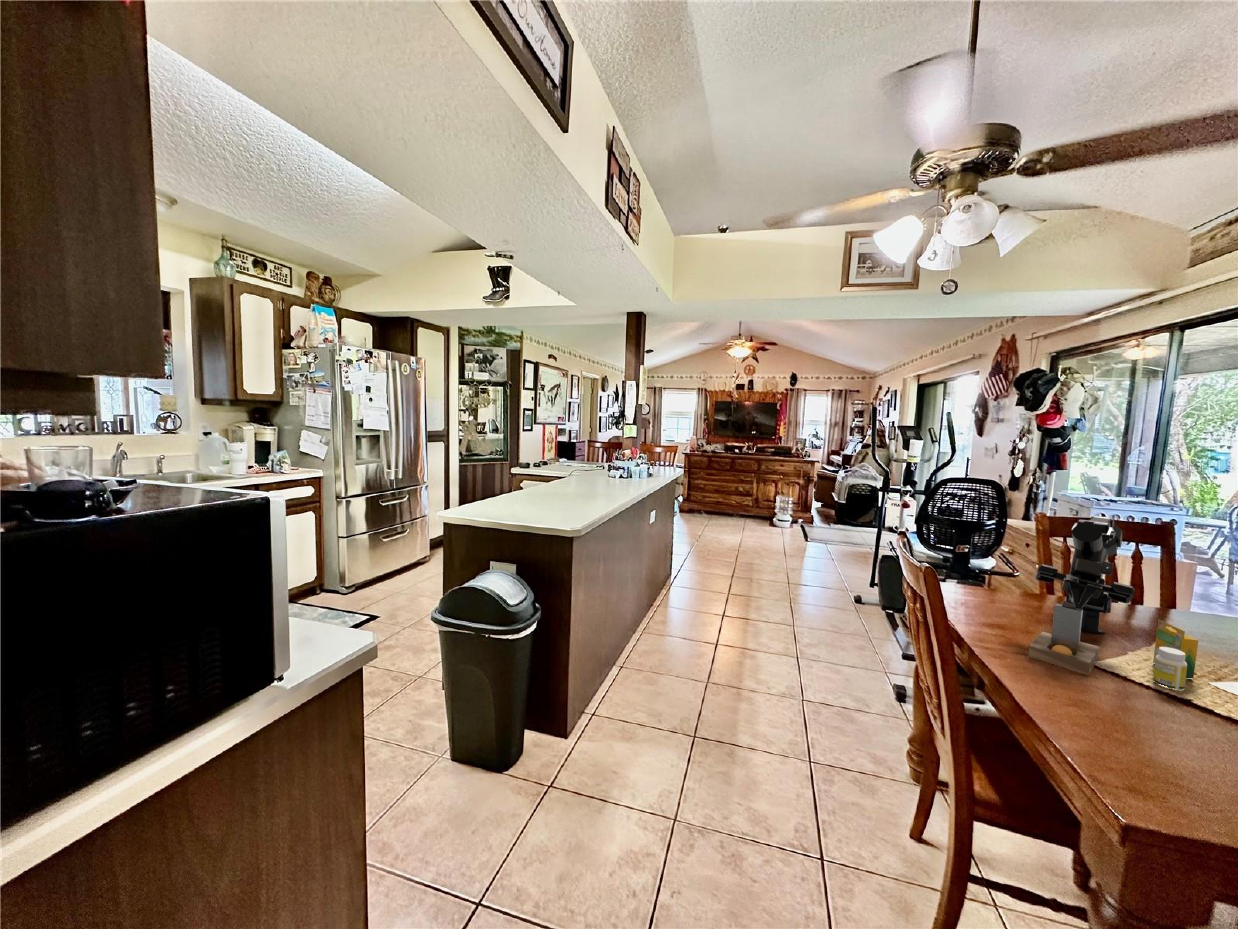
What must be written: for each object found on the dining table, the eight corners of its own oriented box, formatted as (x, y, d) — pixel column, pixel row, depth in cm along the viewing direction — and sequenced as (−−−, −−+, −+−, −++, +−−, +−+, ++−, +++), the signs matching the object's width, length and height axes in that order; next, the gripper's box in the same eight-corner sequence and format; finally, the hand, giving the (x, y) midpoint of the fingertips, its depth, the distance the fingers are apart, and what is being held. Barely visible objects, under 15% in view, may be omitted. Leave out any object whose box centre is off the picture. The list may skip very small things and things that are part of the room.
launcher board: (1041, 642, 130) (1042, 631, 129) (1098, 658, 121) (1099, 646, 121) (1028, 657, 121) (1029, 645, 121) (1088, 675, 112) (1089, 663, 112)
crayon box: (1194, 681, 111) (1200, 633, 110) (1178, 679, 111) (1184, 631, 110) (1167, 665, 118) (1172, 620, 117) (1152, 664, 118) (1157, 619, 117)
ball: (1047, 641, 121) (1045, 657, 121) (1064, 645, 117) (1061, 662, 117) (1061, 645, 122) (1058, 661, 121) (1078, 649, 118) (1075, 666, 117)
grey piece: (1052, 640, 124) (1056, 598, 123) (1079, 647, 120) (1083, 604, 119) (1050, 642, 122) (1054, 600, 121) (1077, 650, 118) (1081, 606, 117)
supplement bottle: (1174, 682, 110) (1178, 647, 109) (1190, 693, 105) (1195, 657, 105) (1147, 679, 111) (1150, 644, 111) (1162, 689, 107) (1166, 653, 106)
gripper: (1046, 537, 132) (1035, 586, 127) (1144, 558, 120) (1136, 614, 114) (1040, 555, 139) (1029, 602, 134) (1132, 576, 127) (1124, 630, 122)
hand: (1076, 611), depth 126 cm, fingers closed
